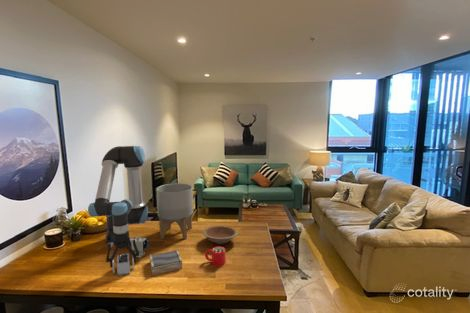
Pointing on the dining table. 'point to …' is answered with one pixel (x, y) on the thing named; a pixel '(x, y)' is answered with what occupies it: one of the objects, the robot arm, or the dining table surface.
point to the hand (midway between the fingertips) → (123, 270)
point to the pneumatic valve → (140, 245)
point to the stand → (165, 262)
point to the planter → (175, 207)
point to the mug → (216, 256)
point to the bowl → (220, 233)
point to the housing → (123, 264)
